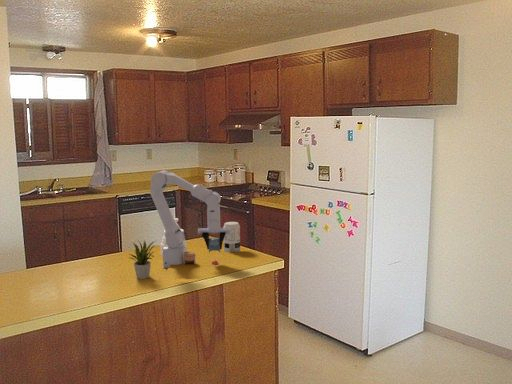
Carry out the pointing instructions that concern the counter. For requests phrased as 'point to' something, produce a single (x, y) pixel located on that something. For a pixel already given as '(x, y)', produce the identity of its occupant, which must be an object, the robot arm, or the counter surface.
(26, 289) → the counter surface
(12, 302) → the counter surface
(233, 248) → the supplement can
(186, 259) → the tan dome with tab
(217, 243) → the slate-blue dome with prongs
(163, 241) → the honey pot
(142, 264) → the house plant
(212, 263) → the red marble
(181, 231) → the robot arm
